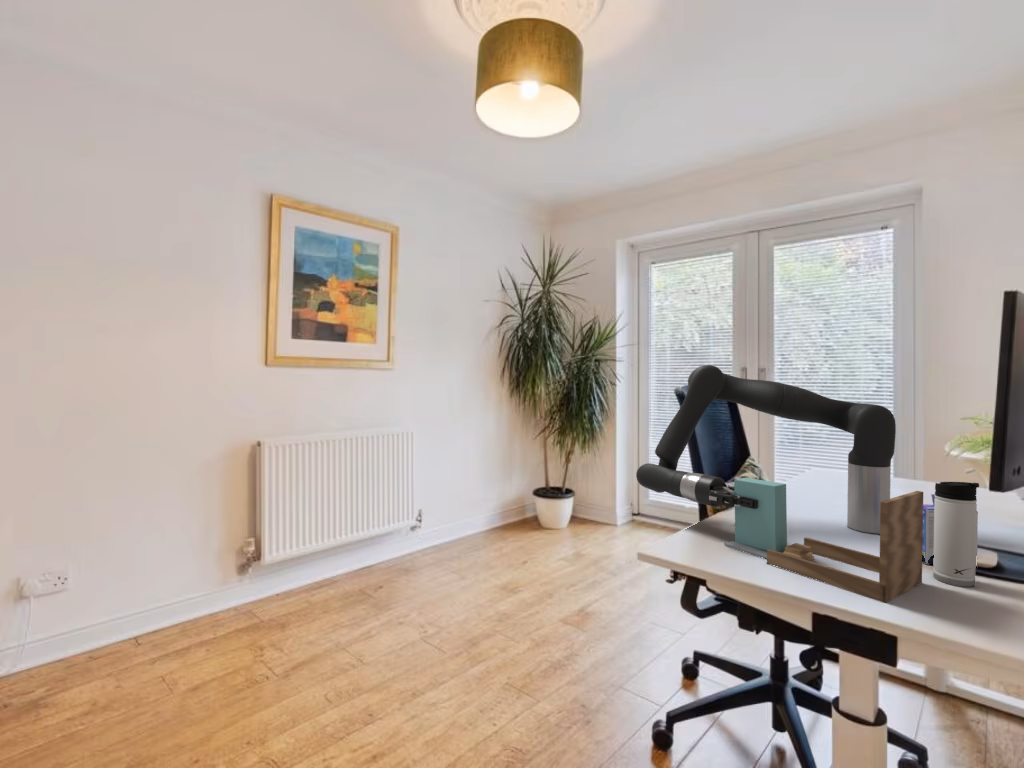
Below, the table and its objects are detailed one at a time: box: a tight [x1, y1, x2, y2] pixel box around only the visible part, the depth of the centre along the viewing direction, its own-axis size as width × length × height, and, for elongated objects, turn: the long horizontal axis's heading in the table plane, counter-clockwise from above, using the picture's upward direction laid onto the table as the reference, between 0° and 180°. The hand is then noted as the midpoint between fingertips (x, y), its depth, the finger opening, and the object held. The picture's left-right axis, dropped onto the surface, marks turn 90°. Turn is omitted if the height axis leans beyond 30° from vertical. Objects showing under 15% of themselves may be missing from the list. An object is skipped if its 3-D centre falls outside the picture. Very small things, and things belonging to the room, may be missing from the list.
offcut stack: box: [783, 542, 815, 561], centre depth 111 cm, size 6×4×3 cm, turn 124°
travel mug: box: [932, 481, 980, 588], centre depth 99 cm, size 6×7×20 cm
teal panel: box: [733, 477, 788, 552], centre depth 118 cm, size 5×10×15 cm, turn 32°
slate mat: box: [724, 540, 785, 560], centre depth 117 cm, size 11×12×1 cm
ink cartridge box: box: [922, 493, 979, 563], centre depth 109 cm, size 10×6×14 cm, turn 78°
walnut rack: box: [766, 490, 924, 603], centre depth 103 cm, size 16×22×18 cm
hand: (764, 502), depth 117 cm, fingers open, 5 cm apart
